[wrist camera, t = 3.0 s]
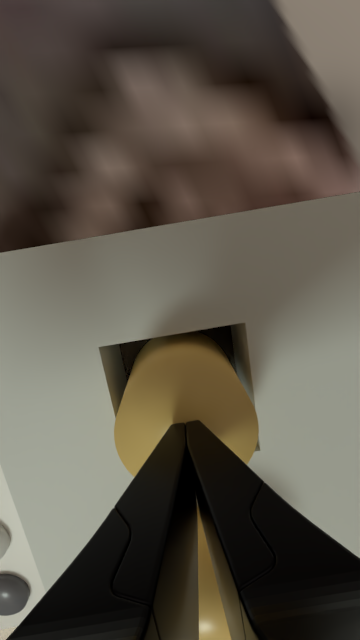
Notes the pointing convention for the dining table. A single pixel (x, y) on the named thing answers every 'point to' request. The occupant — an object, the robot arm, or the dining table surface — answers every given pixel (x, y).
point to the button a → (183, 398)
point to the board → (173, 318)
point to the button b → (209, 595)
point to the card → (15, 565)
